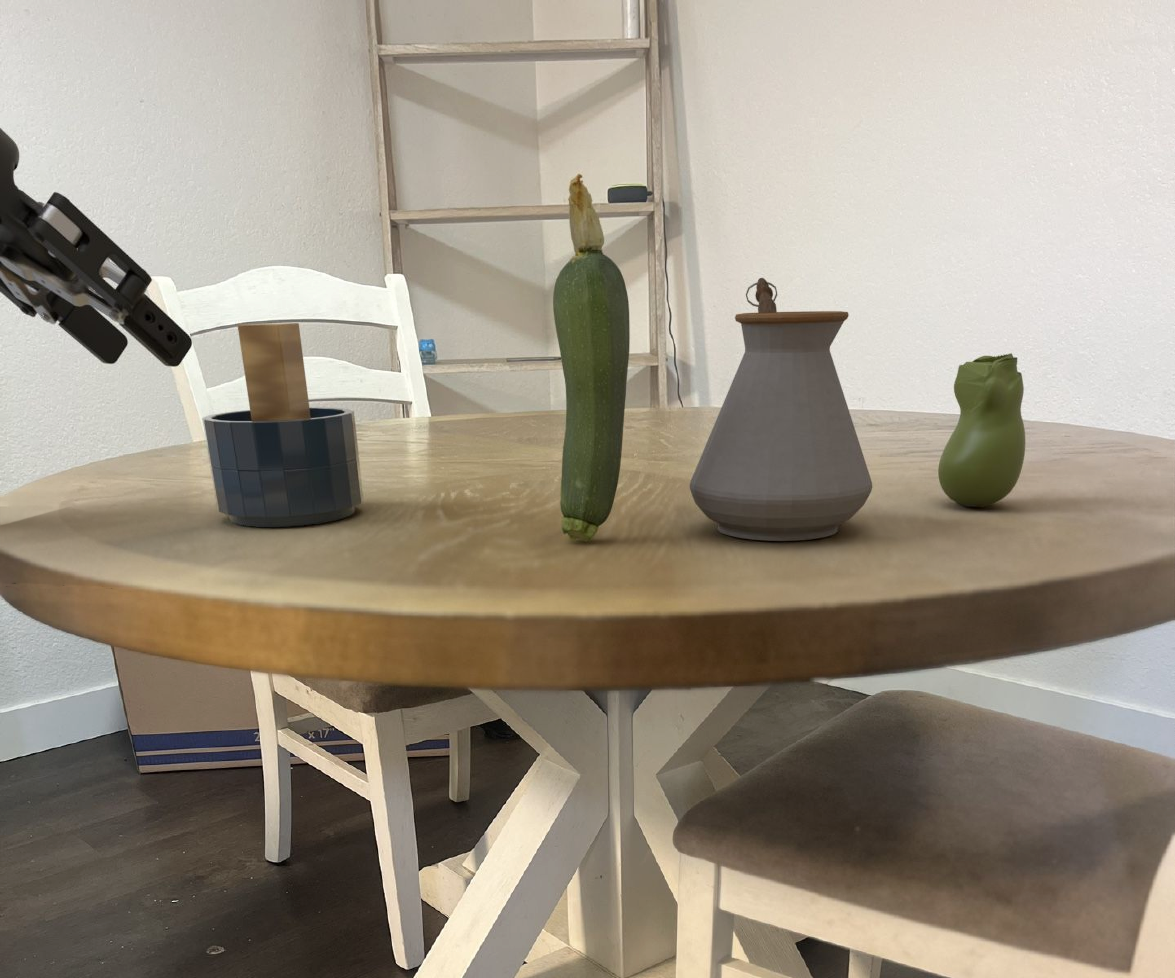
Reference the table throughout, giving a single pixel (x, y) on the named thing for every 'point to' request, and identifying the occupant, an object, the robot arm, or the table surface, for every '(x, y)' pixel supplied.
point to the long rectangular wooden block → (274, 371)
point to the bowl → (284, 467)
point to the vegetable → (591, 370)
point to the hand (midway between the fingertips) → (149, 354)
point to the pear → (985, 433)
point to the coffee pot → (783, 433)
